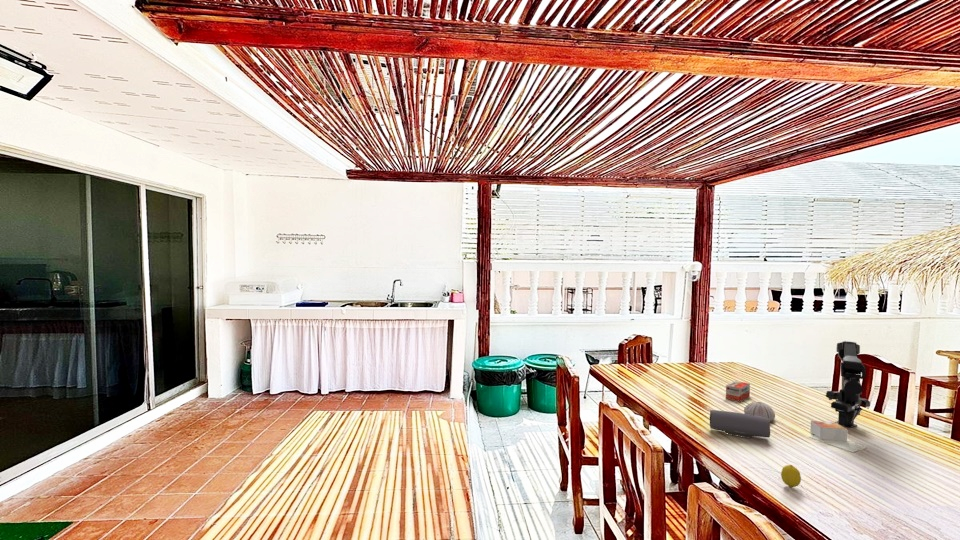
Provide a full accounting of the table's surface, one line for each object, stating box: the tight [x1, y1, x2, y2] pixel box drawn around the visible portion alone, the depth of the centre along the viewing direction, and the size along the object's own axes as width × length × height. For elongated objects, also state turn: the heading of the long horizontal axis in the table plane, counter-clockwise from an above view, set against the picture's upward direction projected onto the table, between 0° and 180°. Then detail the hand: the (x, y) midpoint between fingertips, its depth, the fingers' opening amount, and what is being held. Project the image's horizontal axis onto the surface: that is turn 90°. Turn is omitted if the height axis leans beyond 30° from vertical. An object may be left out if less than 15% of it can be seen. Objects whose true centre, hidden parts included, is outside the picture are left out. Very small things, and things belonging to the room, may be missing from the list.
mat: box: [809, 434, 867, 453], centre depth 183 cm, size 11×16×1 cm
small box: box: [809, 420, 848, 441], centre depth 189 cm, size 8×6×10 cm
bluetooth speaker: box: [709, 409, 771, 439], centre depth 190 cm, size 23×9×10 cm, turn 65°
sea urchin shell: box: [743, 401, 776, 422], centre depth 212 cm, size 13×14×8 cm
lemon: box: [780, 464, 802, 489], centre depth 146 cm, size 6×6×8 cm
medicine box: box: [725, 380, 751, 402], centre depth 244 cm, size 15×8×8 cm, turn 131°
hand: (849, 422), depth 187 cm, fingers closed
